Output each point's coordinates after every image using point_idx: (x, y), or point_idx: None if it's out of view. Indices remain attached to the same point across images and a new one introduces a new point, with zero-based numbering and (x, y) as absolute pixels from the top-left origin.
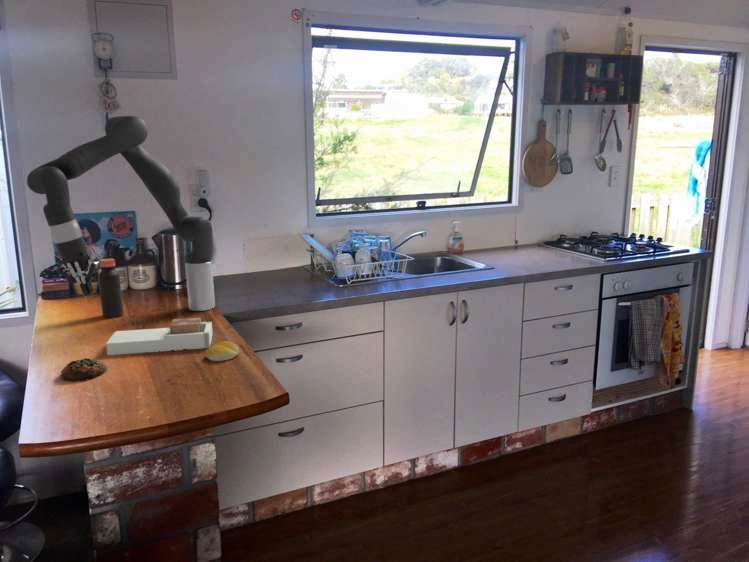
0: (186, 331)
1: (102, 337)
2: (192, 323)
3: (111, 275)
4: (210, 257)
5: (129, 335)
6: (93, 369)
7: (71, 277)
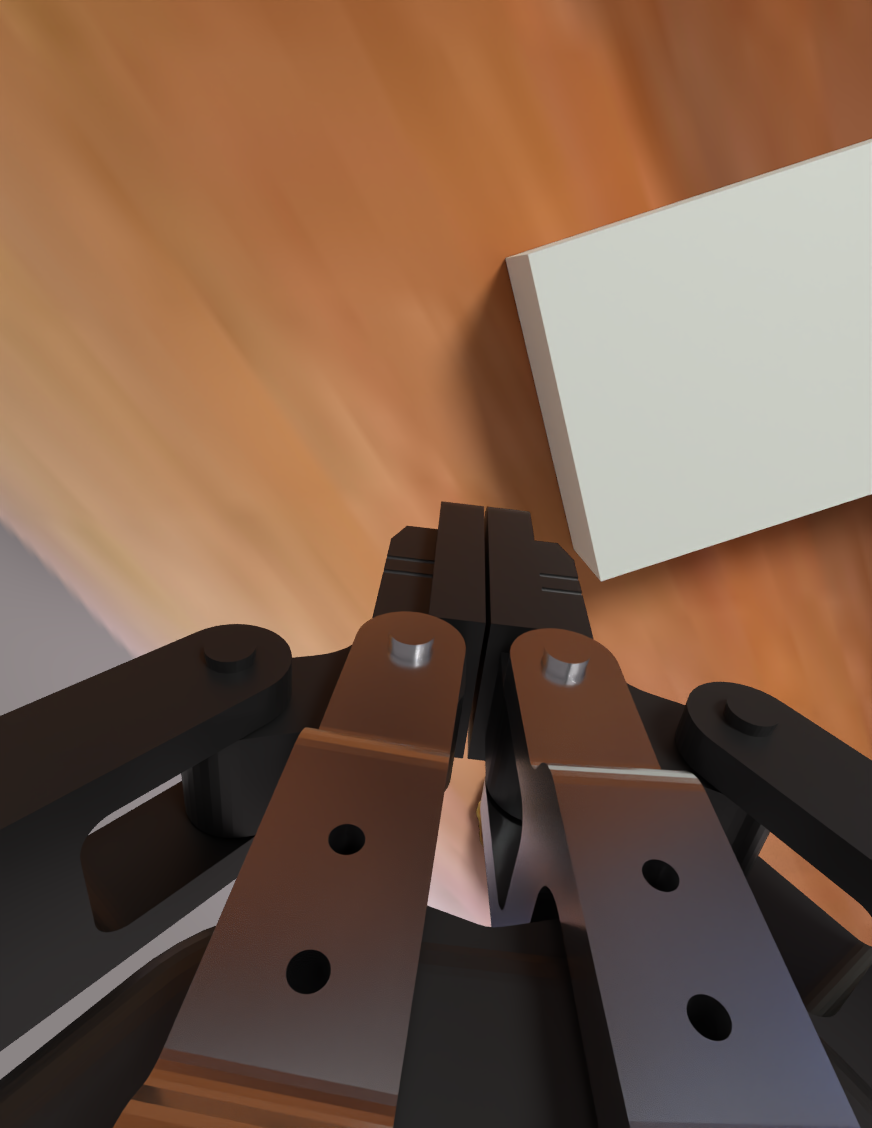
0: None
1: (293, 103)
2: None
3: None
4: None
5: (701, 373)
6: None
7: (194, 902)
